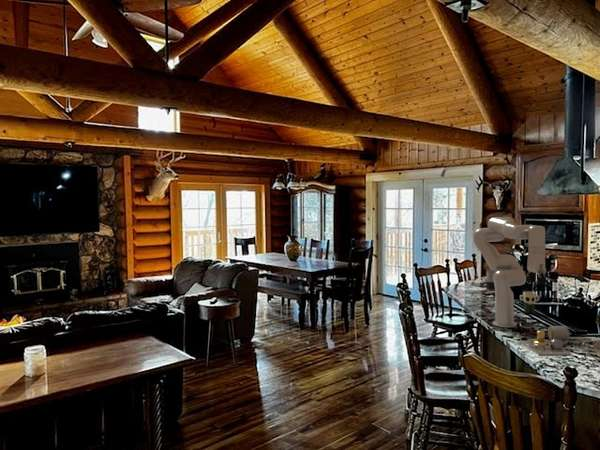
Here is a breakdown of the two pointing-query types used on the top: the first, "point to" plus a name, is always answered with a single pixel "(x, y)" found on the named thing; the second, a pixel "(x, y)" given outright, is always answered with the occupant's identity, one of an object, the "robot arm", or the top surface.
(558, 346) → the carrier
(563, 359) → the top surface
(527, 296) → the character mug
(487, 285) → the milk frother
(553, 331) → the ceramic mug
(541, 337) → the brass door knob
